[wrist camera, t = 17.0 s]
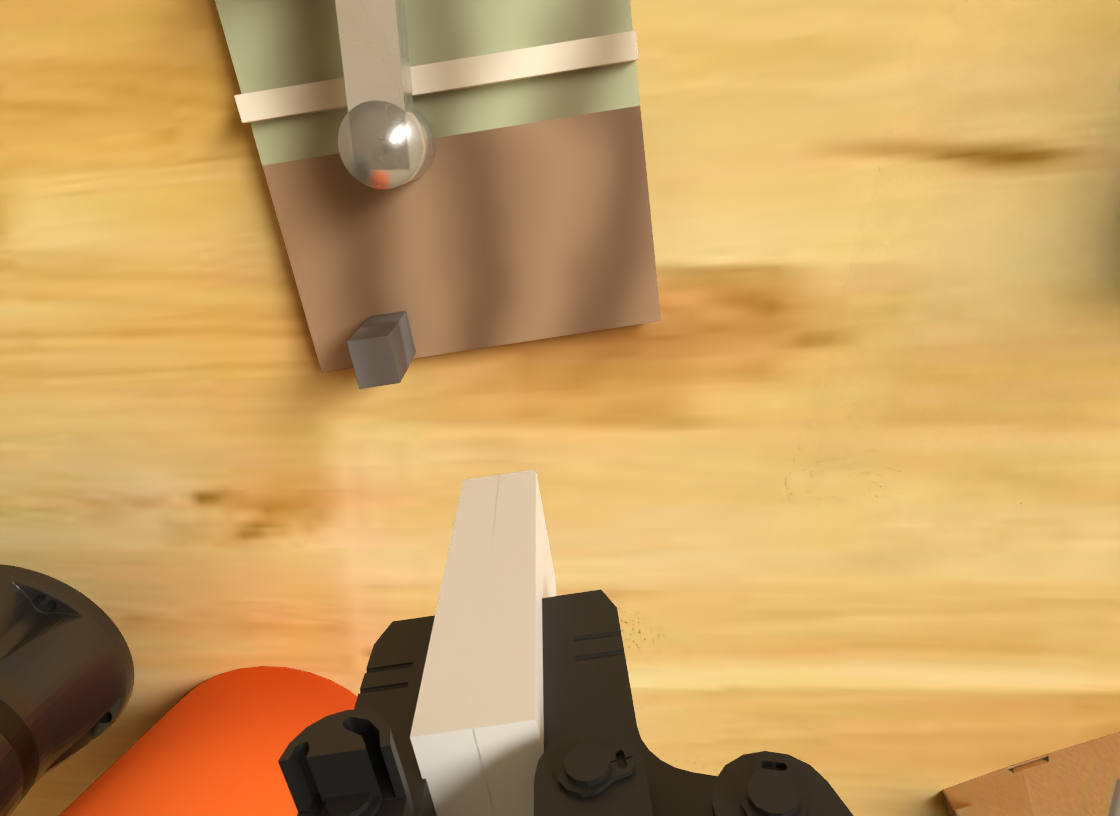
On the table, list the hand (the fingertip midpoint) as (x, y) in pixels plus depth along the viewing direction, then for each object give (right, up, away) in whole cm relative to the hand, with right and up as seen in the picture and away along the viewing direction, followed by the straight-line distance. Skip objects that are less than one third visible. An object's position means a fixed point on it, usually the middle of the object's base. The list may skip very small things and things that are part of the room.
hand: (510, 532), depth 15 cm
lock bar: (-7, +20, +18) cm, 28 cm away
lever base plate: (-4, +17, +22) cm, 28 cm away
